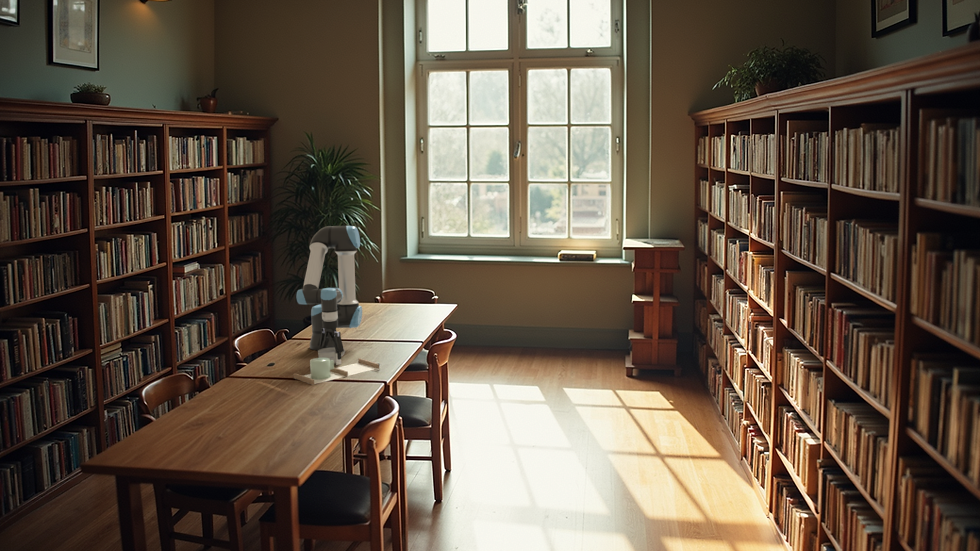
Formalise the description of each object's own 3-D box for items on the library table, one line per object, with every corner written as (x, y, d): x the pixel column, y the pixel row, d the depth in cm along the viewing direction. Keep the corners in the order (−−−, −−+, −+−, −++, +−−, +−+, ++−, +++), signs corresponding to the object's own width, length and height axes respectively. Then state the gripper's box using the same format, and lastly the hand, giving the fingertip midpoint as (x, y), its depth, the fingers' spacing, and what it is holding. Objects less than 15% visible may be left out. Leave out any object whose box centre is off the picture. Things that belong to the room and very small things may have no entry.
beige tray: (293, 380, 387) (293, 373, 386) (360, 364, 412) (359, 358, 411) (312, 386, 375) (312, 380, 375) (379, 370, 400) (379, 363, 400)
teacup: (322, 369, 404) (321, 353, 403) (315, 364, 414) (314, 348, 413) (350, 365, 411) (349, 349, 410) (343, 360, 420) (342, 344, 419)
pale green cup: (307, 377, 387) (306, 360, 386) (328, 372, 395) (327, 355, 394) (317, 380, 381) (316, 363, 380) (339, 375, 389) (338, 358, 388)
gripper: (310, 317, 415) (312, 360, 418) (336, 324, 398) (339, 369, 402) (323, 315, 420) (325, 358, 423) (349, 321, 403) (352, 366, 407)
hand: (332, 363), depth 413 cm, fingers closed on teacup, 11 cm apart
